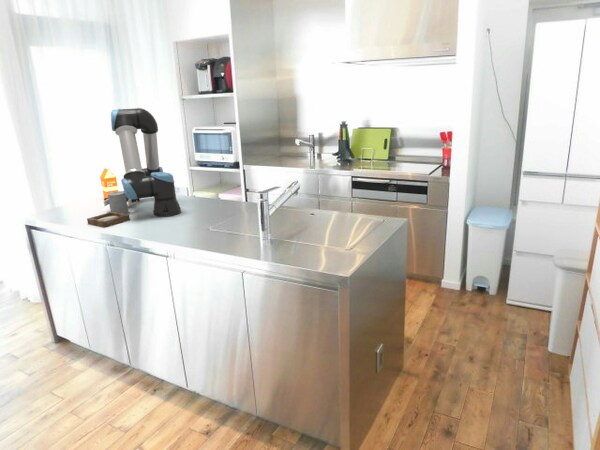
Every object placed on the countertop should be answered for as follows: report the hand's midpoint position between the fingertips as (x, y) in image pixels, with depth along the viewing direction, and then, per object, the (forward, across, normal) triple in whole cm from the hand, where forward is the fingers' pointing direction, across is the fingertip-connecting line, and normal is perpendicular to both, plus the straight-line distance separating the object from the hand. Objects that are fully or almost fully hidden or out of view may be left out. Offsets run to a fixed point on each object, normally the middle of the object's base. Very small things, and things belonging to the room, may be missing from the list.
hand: (116, 203), depth 236 cm
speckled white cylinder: (-2, 0, -7) cm, 7 cm away
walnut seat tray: (+14, 0, -7) cm, 16 cm away
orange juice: (-44, +21, -7) cm, 50 cm away
